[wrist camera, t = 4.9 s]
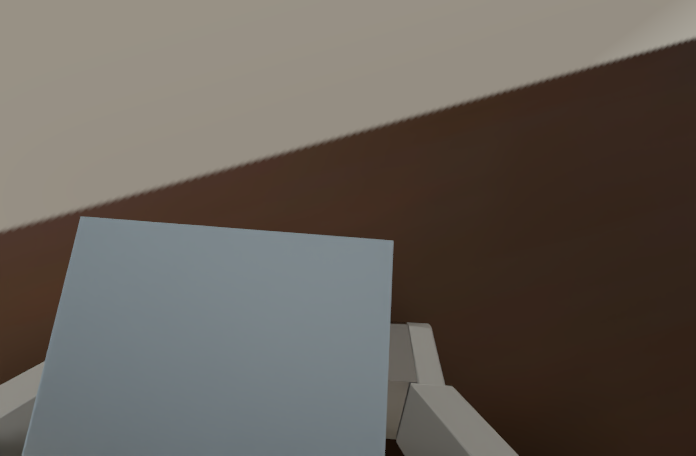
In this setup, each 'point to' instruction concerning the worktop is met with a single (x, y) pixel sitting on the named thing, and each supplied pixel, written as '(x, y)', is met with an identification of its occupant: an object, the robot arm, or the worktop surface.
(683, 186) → the worktop surface
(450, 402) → the robot arm
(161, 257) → the peg
